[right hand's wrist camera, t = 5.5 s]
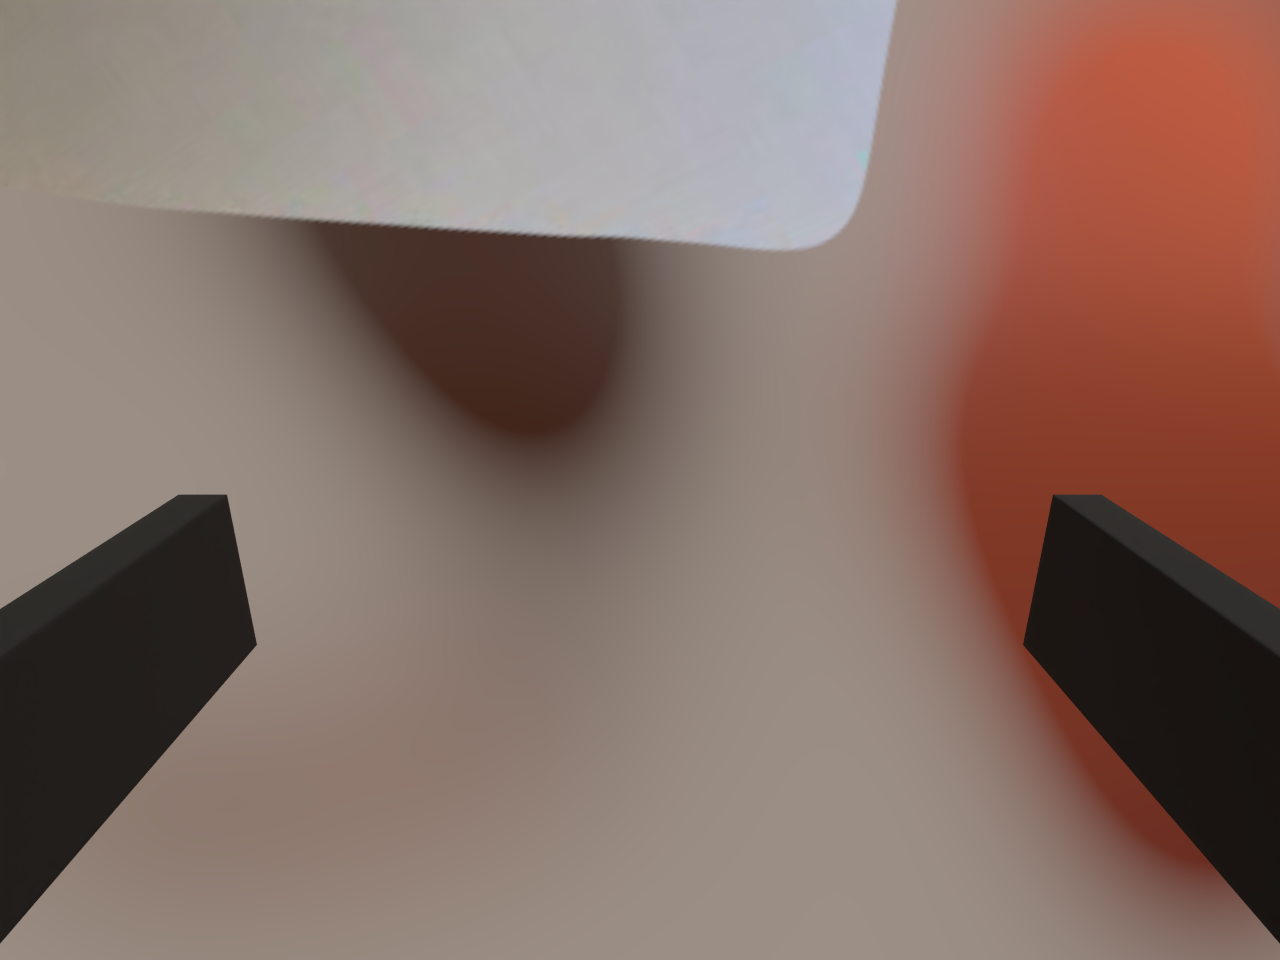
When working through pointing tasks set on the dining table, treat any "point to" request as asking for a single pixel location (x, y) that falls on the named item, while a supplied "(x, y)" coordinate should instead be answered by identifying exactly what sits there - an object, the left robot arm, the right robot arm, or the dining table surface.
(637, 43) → the dining table surface
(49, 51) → the dining table surface
